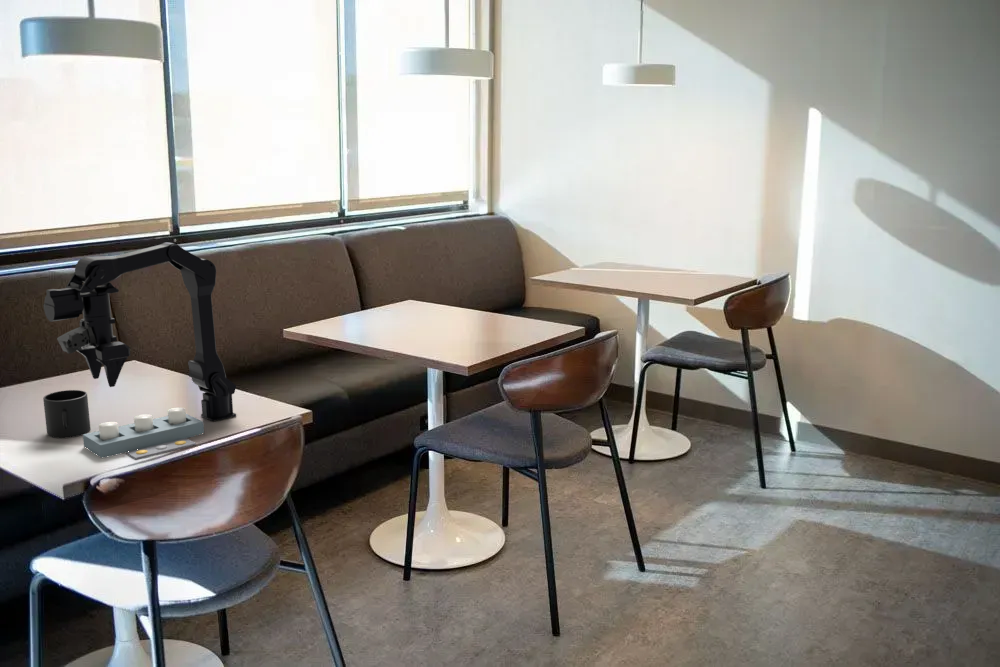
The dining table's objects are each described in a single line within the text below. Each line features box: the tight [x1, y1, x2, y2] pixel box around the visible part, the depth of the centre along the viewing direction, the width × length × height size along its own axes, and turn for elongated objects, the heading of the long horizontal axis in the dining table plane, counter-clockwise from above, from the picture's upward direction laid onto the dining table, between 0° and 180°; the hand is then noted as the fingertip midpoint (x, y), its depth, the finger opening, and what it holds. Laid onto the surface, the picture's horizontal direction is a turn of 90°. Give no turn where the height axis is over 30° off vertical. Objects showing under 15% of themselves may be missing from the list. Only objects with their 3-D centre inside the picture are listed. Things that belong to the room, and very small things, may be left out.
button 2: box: [167, 407, 187, 425], centre depth 229 cm, size 4×4×4 cm
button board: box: [82, 413, 205, 459], centre depth 224 cm, size 24×10×3 cm, turn 133°
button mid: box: [133, 413, 154, 433], centre depth 223 cm, size 4×4×4 cm
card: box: [125, 438, 197, 461], centre depth 218 cm, size 14×5×1 cm, turn 133°
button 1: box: [98, 421, 119, 441], centre depth 218 cm, size 4×4×4 cm
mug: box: [42, 389, 91, 439], centre depth 228 cm, size 9×12×9 cm
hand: (103, 382), depth 219 cm, fingers open, 9 cm apart
